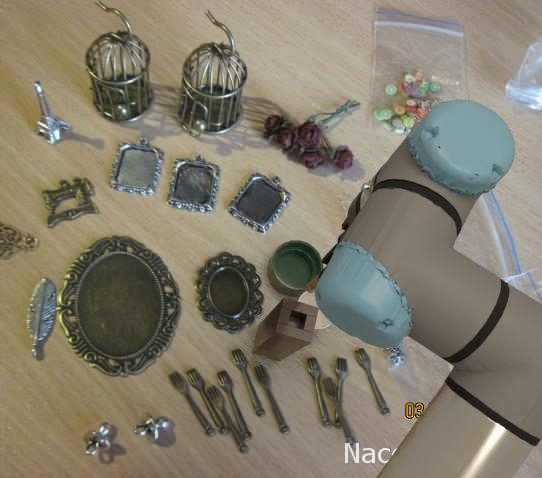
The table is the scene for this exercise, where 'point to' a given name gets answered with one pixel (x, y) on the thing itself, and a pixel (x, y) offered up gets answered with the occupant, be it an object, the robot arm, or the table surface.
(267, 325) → the stand
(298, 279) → the bowl
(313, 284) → the stick
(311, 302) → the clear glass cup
